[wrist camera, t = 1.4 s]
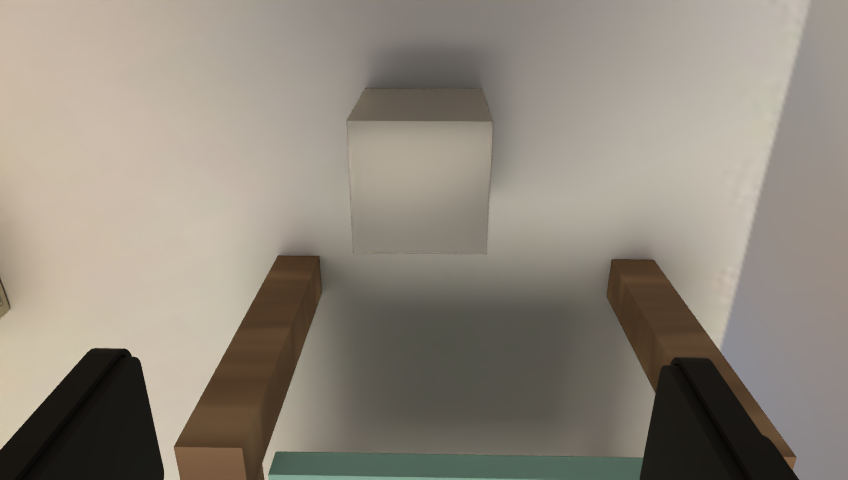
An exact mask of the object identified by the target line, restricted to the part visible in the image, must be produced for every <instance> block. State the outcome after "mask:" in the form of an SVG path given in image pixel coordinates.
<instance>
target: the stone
mask: <svg viewBox="0 0 848 480" xmlns="http://www.w3.org/2000/svg"><path fill="white" fill-rule="evenodd" d="M492 130H493V120H492V117H491V114H490V112H489V109H488V106H487V103H486V100H485V97H484V94H483V91H482V89H410V88H365V90H364V91H363V93H362V95H361V97H360V98H359V100H358V102H357V103H356V105H355V107H354V109H353V110H352V112H351V114H350V116H349V117H348V119H347V138H348V159H349V179H350V200H351V220H352V241H353V253H422V254H487V236H488V215H489V194H490V173H491V152H492Z"/></svg>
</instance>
